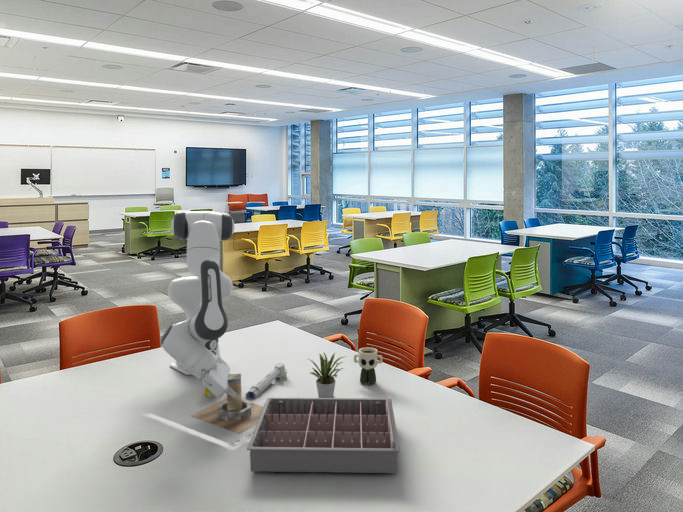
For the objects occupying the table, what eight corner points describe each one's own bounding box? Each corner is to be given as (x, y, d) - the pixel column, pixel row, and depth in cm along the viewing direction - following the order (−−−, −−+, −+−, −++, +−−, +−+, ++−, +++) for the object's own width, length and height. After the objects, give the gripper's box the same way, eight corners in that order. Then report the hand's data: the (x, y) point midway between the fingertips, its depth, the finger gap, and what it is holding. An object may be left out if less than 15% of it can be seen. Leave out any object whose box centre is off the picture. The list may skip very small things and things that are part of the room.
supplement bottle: (210, 401, 178) (209, 375, 177) (201, 397, 182) (200, 371, 180) (223, 396, 182) (222, 371, 181) (214, 392, 186) (213, 367, 184)
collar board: (190, 419, 165) (190, 408, 164) (230, 399, 180) (230, 389, 179) (240, 437, 153) (239, 426, 153) (278, 414, 168) (278, 403, 168)
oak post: (227, 412, 163) (226, 379, 162) (228, 406, 168) (227, 374, 166) (241, 411, 164) (240, 378, 163) (242, 405, 169) (240, 373, 167)
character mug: (353, 385, 191) (353, 353, 189) (354, 378, 198) (354, 346, 196) (381, 387, 190) (382, 354, 188) (382, 379, 197) (382, 347, 195)
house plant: (357, 397, 181) (357, 353, 179) (330, 410, 171) (329, 364, 169) (328, 386, 191) (328, 344, 188) (301, 397, 181) (301, 354, 178)
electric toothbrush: (243, 390, 179) (276, 358, 201) (245, 406, 180) (278, 373, 203) (256, 392, 177) (288, 359, 199) (258, 409, 179) (290, 374, 201)
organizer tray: (267, 420, 164) (267, 391, 163) (390, 421, 163) (391, 392, 162) (247, 477, 133) (246, 442, 131) (399, 479, 132) (400, 444, 130)
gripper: (207, 369, 152) (241, 397, 155) (213, 347, 172) (243, 373, 175) (193, 384, 152) (227, 412, 155) (200, 360, 172) (231, 386, 175)
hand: (236, 391), depth 165 cm, fingers closed on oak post, 4 cm apart
